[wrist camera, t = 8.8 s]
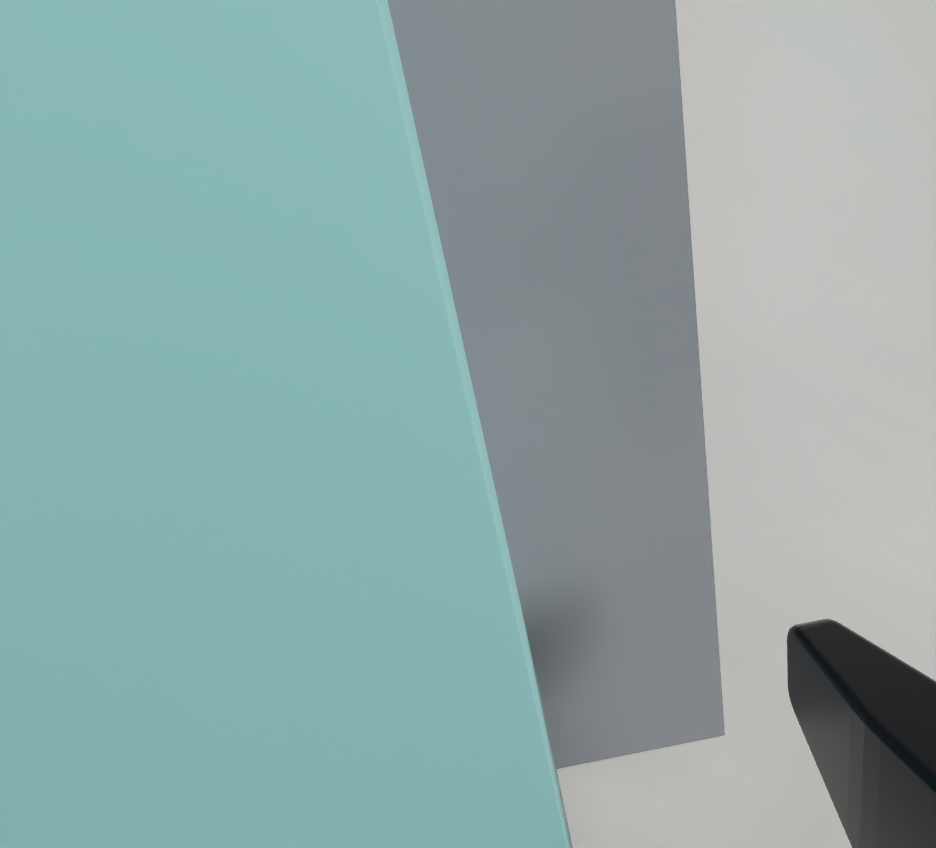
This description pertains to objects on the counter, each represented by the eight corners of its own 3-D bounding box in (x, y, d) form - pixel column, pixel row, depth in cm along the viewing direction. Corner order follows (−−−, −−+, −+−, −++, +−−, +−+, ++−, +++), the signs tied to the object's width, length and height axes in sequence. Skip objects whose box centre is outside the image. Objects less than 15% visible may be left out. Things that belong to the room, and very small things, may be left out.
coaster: (706, 694, 13) (724, 735, 12) (147, 807, 13) (133, 853, 12) (604, -588, 6) (630, -662, 6) (-497, -333, 7) (-605, -374, 6)
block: (543, 708, 12) (634, 1144, 7) (268, 764, 12) (190, 1230, 7) (291, -434, 6) (14, -1600, 2) (-225, -309, 6) (-1785, -1100, 2)
